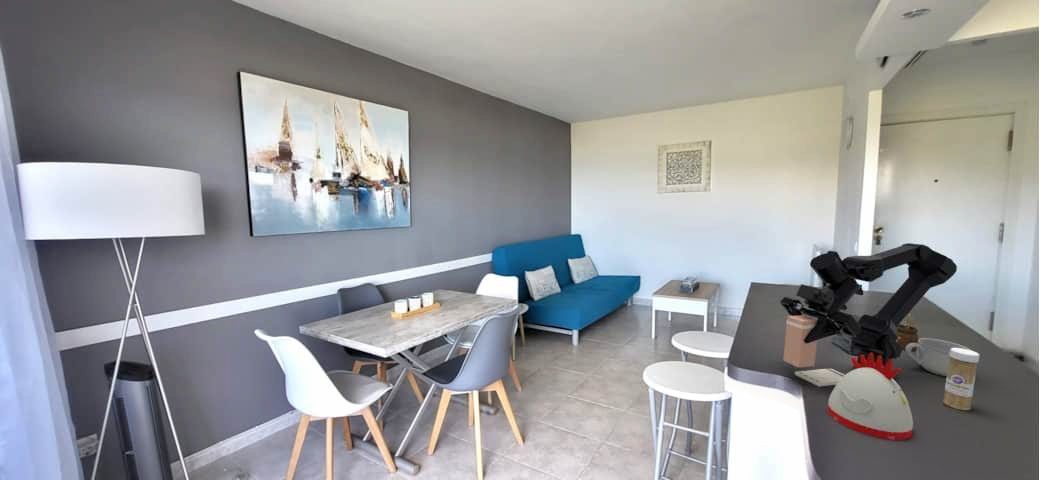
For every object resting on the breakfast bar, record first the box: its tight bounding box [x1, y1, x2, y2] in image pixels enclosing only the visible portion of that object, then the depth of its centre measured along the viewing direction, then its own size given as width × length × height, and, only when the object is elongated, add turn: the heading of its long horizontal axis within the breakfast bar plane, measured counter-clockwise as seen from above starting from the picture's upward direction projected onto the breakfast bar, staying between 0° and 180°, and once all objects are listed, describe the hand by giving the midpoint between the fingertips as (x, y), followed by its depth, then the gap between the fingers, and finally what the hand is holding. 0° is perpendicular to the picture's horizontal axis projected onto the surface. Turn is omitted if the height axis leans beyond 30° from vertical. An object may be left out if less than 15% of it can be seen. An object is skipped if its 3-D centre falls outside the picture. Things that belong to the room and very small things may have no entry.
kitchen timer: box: [826, 353, 914, 441], centre depth 86 cm, size 14×14×15 cm
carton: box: [782, 315, 818, 368], centre depth 105 cm, size 5×5×12 cm
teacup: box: [904, 337, 973, 377], centre depth 113 cm, size 14×11×8 cm
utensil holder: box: [896, 313, 919, 352], centre depth 131 cm, size 6×6×12 cm
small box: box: [831, 313, 862, 356], centre depth 128 cm, size 11×6×10 cm, turn 168°
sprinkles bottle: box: [942, 348, 980, 411], centre depth 93 cm, size 5×5×14 cm
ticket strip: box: [794, 368, 846, 387], centre depth 108 cm, size 12×7×1 cm, turn 102°
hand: (796, 338), depth 104 cm, fingers closed on carton, 4 cm apart
